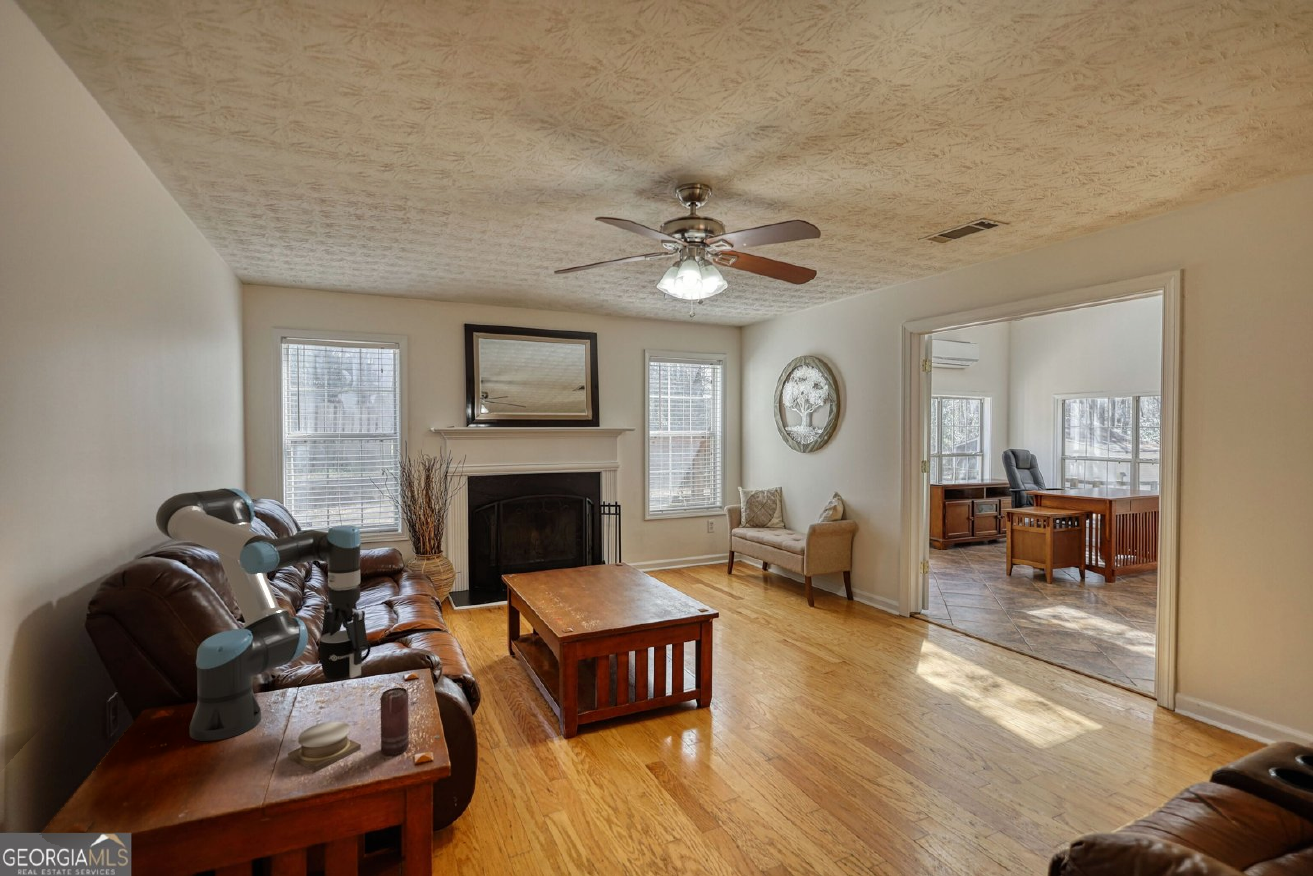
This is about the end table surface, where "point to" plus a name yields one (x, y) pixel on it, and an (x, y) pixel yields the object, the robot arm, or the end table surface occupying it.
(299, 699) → the end table surface
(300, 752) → the stand
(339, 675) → the mug
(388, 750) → the can
